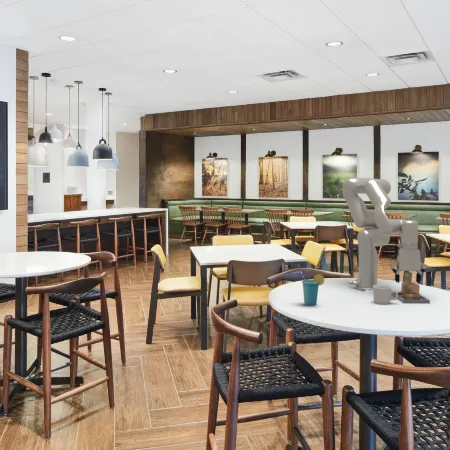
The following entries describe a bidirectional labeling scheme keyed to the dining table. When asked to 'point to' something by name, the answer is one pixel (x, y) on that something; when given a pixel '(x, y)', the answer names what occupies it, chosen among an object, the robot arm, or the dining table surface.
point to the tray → (423, 301)
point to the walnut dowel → (411, 296)
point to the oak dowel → (407, 283)
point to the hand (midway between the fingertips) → (407, 282)
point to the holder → (413, 287)
